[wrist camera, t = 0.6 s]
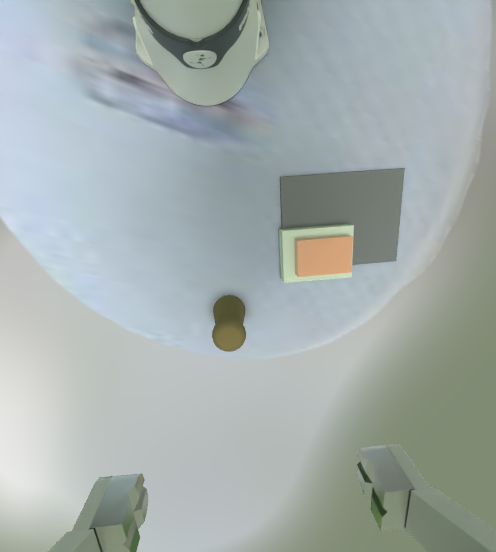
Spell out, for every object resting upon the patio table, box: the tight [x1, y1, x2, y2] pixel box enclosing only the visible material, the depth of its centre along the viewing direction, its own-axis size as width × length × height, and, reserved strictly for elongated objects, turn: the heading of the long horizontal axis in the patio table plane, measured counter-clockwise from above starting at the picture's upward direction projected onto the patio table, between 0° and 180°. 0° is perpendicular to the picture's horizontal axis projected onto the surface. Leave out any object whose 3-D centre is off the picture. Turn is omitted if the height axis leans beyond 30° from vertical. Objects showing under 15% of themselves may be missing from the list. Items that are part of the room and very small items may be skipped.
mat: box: [280, 168, 405, 265], centre depth 46 cm, size 16×21×1 cm
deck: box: [279, 224, 354, 283], centre depth 46 cm, size 9×12×3 cm
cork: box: [212, 296, 246, 351], centre depth 44 cm, size 6×6×11 cm
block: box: [294, 235, 353, 277], centre depth 44 cm, size 6×9×2 cm, turn 94°
